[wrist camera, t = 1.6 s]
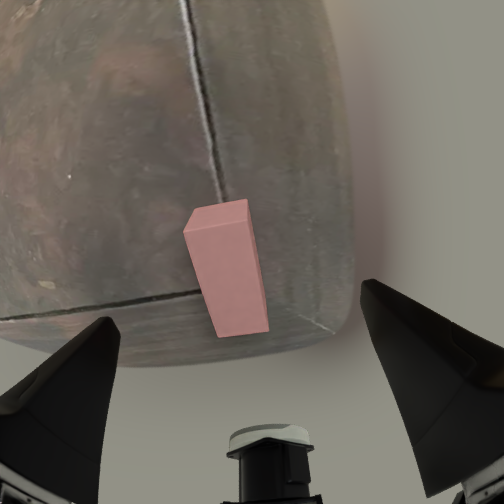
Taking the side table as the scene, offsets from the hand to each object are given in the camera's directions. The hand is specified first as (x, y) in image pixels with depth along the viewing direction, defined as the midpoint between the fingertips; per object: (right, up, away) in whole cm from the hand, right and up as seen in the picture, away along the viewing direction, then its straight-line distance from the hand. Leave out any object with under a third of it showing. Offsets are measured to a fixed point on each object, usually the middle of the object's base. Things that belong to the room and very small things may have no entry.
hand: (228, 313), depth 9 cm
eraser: (0, +2, +3) cm, 4 cm away
